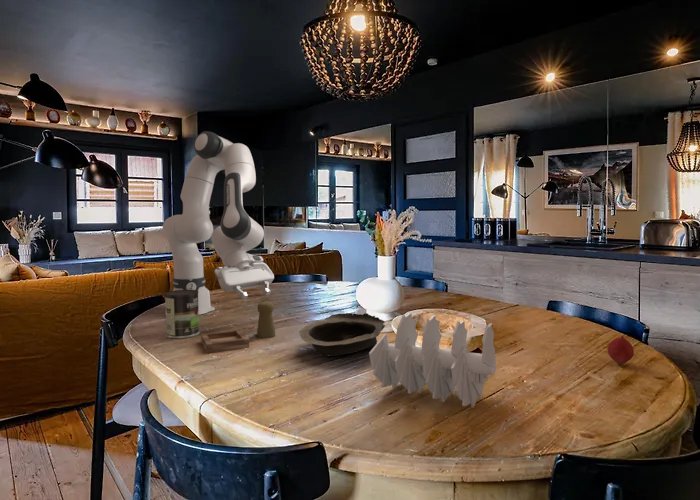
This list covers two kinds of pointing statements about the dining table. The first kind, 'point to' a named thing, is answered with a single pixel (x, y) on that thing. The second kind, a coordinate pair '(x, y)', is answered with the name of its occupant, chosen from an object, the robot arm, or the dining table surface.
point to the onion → (620, 350)
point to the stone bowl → (343, 333)
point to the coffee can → (182, 313)
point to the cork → (265, 320)
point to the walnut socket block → (224, 341)
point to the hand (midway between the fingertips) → (257, 295)
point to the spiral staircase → (434, 361)
